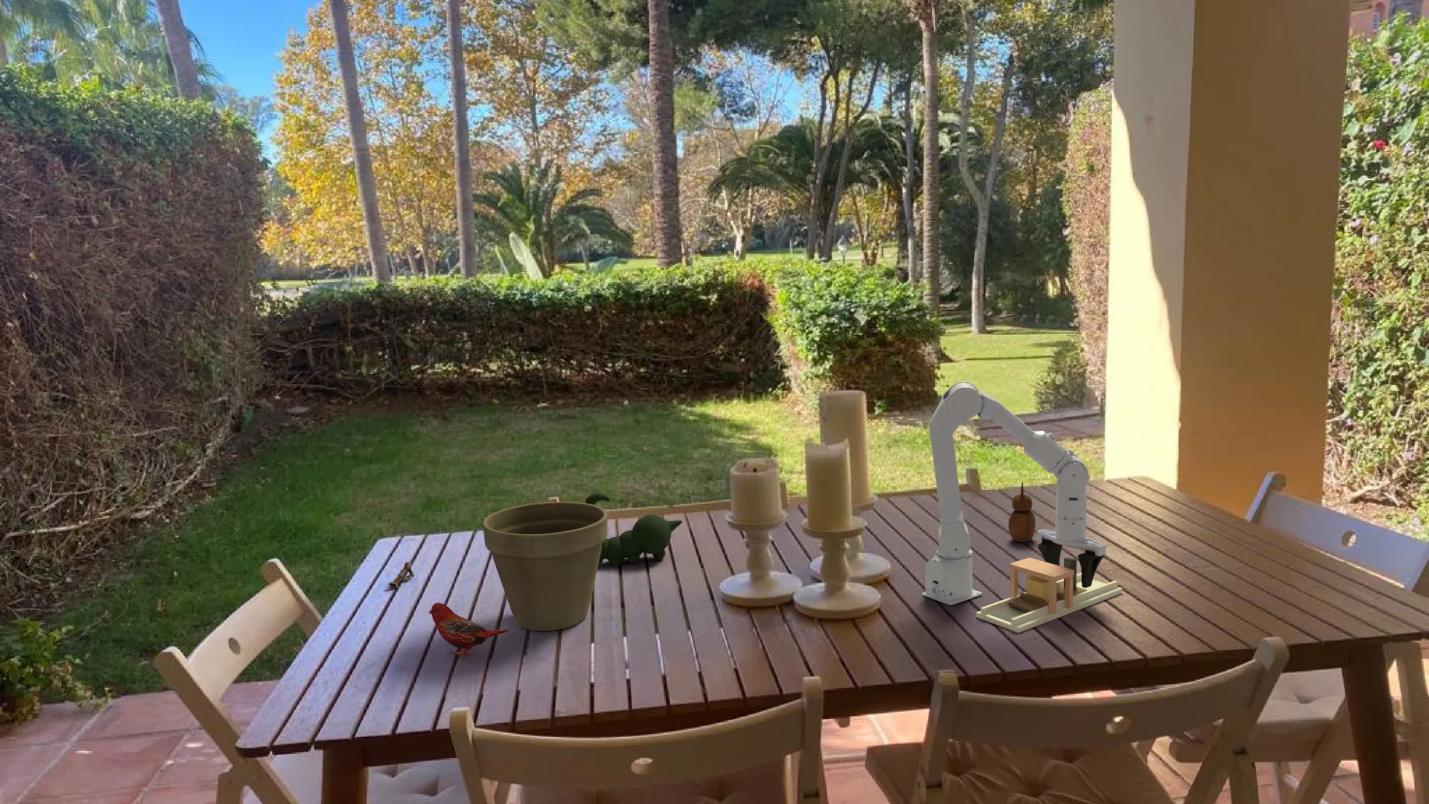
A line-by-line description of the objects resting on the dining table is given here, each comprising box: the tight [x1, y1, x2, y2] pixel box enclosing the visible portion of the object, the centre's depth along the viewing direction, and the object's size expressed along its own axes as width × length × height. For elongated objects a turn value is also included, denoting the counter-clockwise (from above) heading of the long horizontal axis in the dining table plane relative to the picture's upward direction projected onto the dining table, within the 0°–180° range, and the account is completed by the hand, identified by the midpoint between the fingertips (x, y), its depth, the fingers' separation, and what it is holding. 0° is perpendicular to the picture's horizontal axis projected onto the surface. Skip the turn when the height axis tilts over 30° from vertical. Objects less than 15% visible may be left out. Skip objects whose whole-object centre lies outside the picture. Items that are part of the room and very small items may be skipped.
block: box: [1025, 576, 1049, 602], centre depth 182 cm, size 4×4×4 cm
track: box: [975, 557, 1123, 634], centre depth 184 cm, size 32×10×8 cm, turn 123°
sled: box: [1009, 556, 1087, 612], centre depth 183 cm, size 16×6×7 cm, turn 123°
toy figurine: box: [584, 492, 683, 567], centre depth 223 cm, size 9×19×25 cm
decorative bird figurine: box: [428, 602, 509, 657], centre depth 172 cm, size 3×18×10 cm, turn 69°
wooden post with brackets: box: [388, 560, 415, 589], centre depth 217 cm, size 2×8×4 cm, turn 164°
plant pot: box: [482, 501, 609, 632], centre depth 188 cm, size 25×25×22 cm
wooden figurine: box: [1007, 481, 1037, 543], centre depth 225 cm, size 7×6×15 cm
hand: (1070, 581), depth 187 cm, fingers open, 7 cm apart
